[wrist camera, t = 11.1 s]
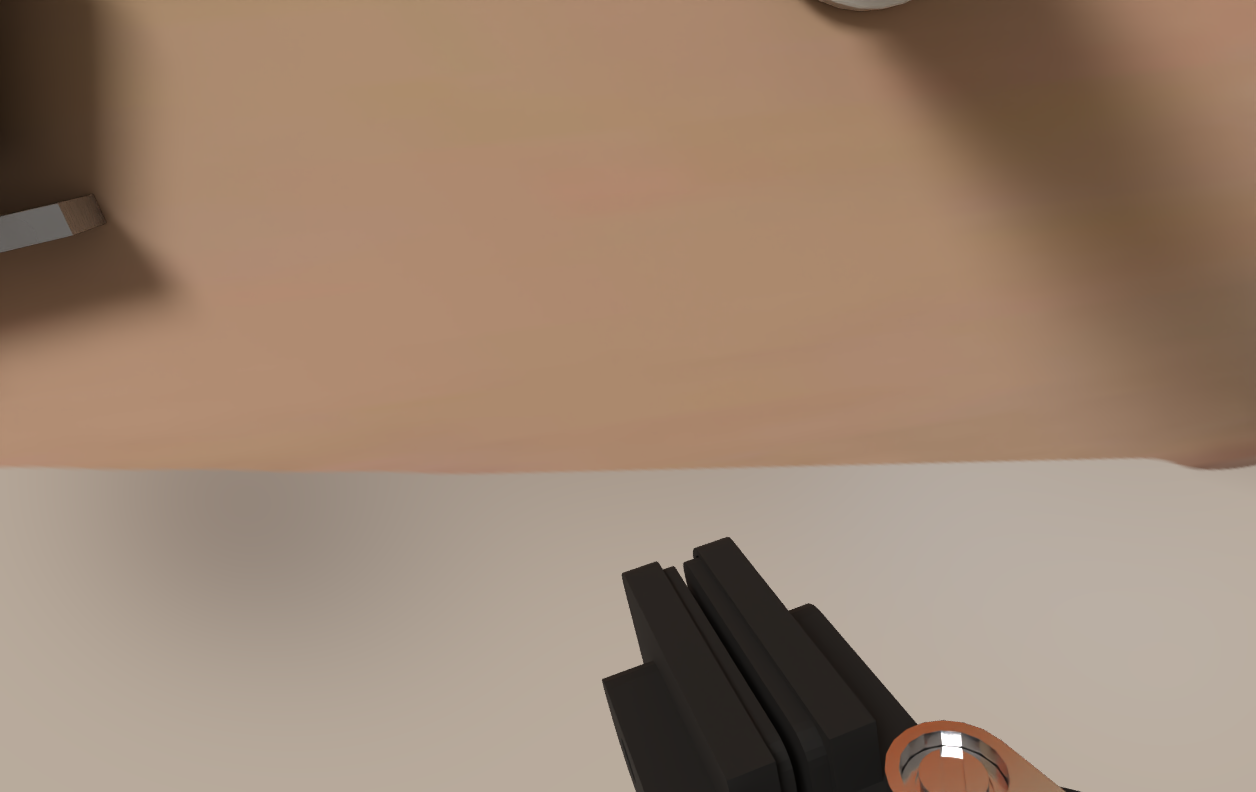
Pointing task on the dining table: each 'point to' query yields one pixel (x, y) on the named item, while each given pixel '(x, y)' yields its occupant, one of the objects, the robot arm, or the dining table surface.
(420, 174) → the dining table surface
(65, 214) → the steel cradle
